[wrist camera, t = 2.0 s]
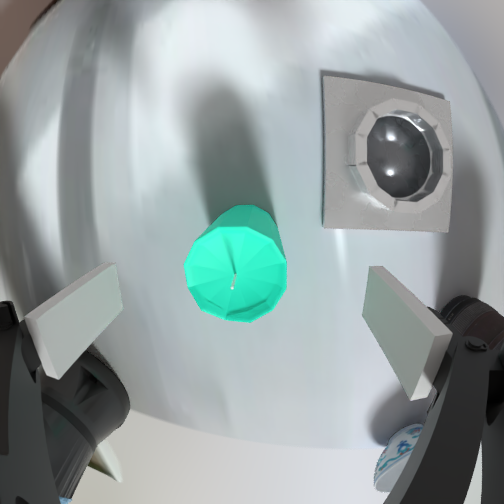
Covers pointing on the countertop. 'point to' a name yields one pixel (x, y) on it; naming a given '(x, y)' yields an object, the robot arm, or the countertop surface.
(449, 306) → the camera lens
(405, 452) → the chinaware
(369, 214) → the duct flange
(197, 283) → the candle
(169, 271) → the countertop surface
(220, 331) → the countertop surface
